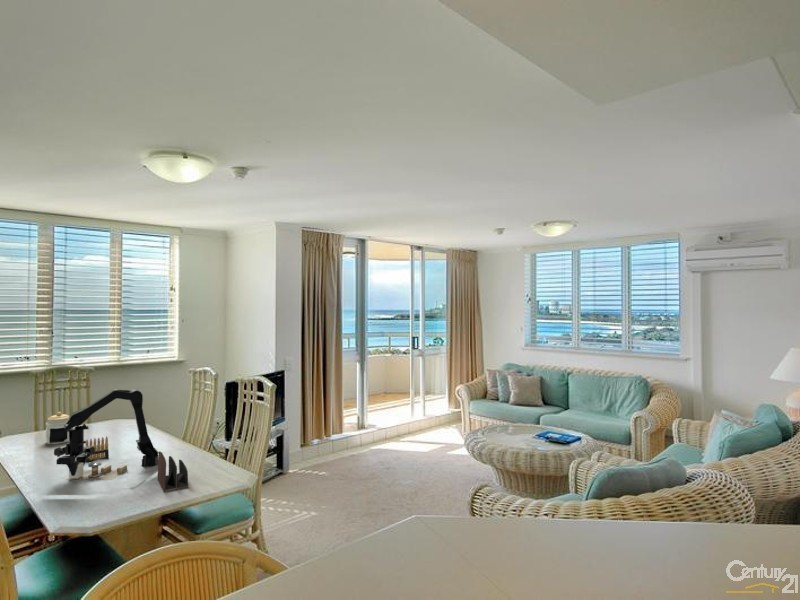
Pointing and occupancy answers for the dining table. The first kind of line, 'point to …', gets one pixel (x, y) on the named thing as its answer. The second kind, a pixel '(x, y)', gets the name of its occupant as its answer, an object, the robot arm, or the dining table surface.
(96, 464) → the bobbin
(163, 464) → the letter holder
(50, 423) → the jar
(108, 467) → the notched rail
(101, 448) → the ammunition clip
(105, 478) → the board
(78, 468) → the white block
